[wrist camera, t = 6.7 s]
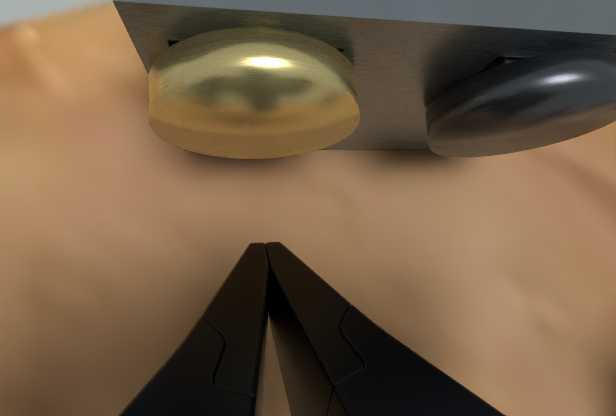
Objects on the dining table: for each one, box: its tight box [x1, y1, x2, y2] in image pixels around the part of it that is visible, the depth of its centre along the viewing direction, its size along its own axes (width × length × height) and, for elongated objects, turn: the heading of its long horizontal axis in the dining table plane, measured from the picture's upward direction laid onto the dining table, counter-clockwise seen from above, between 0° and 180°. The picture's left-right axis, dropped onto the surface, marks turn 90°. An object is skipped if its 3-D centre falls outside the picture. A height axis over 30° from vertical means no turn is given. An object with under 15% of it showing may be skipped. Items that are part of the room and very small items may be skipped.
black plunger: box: [425, 49, 616, 157], centre depth 13 cm, size 5×6×6 cm
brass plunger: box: [149, 27, 360, 159], centre depth 11 cm, size 5×6×6 cm
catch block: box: [113, 0, 616, 151], centre depth 14 cm, size 5×15×10 cm, turn 93°
